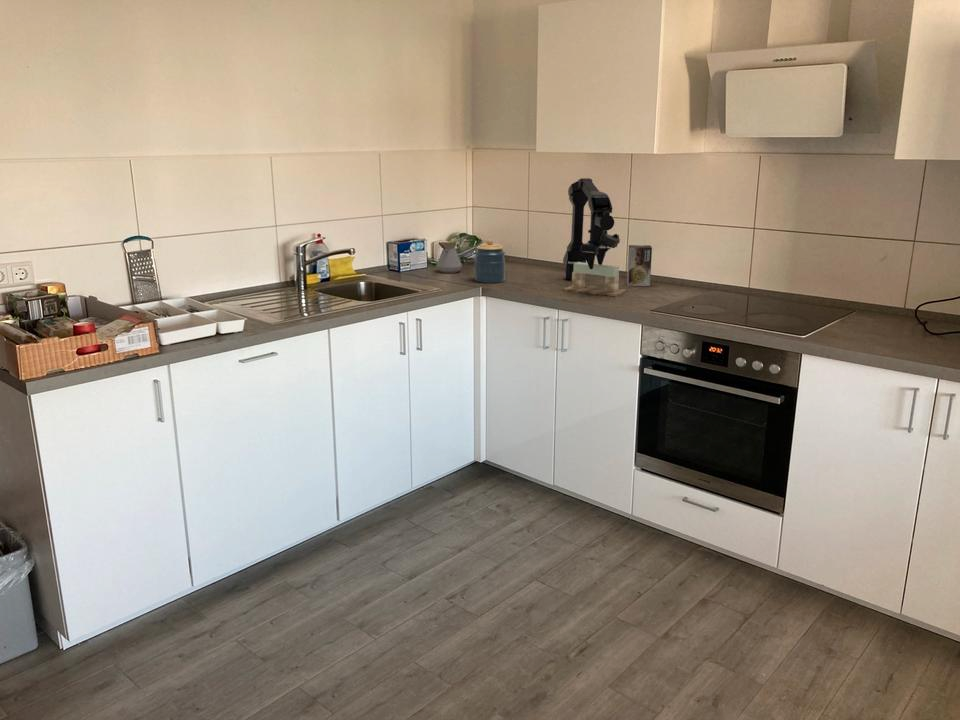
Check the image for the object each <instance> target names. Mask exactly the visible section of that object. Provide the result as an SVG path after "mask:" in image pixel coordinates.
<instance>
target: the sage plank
mask: <svg viewBox="0 0 960 720" xmlns="http://www.w3.org/2000/svg"><path fill="white" fill-rule="evenodd" d="M573 272H577V273H585V275H592V276H593V275H594V276H600V277H601V276H602V277H606V276H608V277H616V276H619V277H620V275H619V274H620V266H615V265H614V266H613V265H608V264H607V265H605V264H602V265H599V264H598V263H594V266H593V269H590V268H589V266H588V263H587V262H586V263H582V262H577V263H574V269H573Z"/></svg>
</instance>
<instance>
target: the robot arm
mask: <svg viewBox="0 0 960 720" xmlns="http://www.w3.org/2000/svg"><path fill="white" fill-rule="evenodd" d="M567 194H568V195H567V196H568V200H569V201H570V203H571V205H572V214H571V215H572V216H571V236H570V237H571V238H570V242H569V244H568V245H567V246H566V251H565V253H564V256H563V259H562V263H563V265H564V266H565V277H563V280H569V281H572V273H573V269H574V263H577V262H582V263H588V266H589V268H590V269H593V266H594V264H595V260H597V264H599V265H603V262H604V260H605V256H606V253H608V252H609V251H610V250H611V249H614V248H618V245H619V244H620V242H621V241H620V240H621V239H620V235H619V234H617V233H615V234H613V235H612V234H608V231H609V230H611V229H613V227H614V226H615V219H614V218H613V216H612V215H611V214H613V209H614V208H613V205H612V202H611V200H610V199H611V198H610V197H609V195H608V194H607V193H606V192H603V191H600V190H599V189H598V188H597V186H596V185H595V184H594V182H593V179H592V178H588V177H587V178H586V177H585V178H579V179H578V180H576V181H575V182H573V183H571V184H570V185H569V187H568V191H567ZM586 205H588V208H589V210H590V226H589V227H590V229H588V230H587V232H588V234H589V240H587V242H584V243H583V235H584V233H583V232H584V218H585V217H584V216H585V214H584V213H585V206H586Z"/></svg>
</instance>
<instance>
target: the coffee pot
mask: <svg viewBox="0 0 960 720" xmlns="http://www.w3.org/2000/svg"><path fill="white" fill-rule="evenodd" d="M437 245H439V247H440V248H441V249H442V250H441V252H440V253H441V254H440V256H439V258H438V260H437V263H436V268H437V270H438V271H439V272H440V273H443V274H454V273H455V274H456V273H458V272H459V271H460V270H461V269H462V266H463V264H462V262H461V260H460V257H459V255H458V253H457V250H456V245H457V242H438V243H437Z"/></svg>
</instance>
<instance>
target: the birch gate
mask: <svg viewBox="0 0 960 720" xmlns="http://www.w3.org/2000/svg"><path fill="white" fill-rule="evenodd" d="M604 280H605V284H604V286H596V285H587V284H586V274H585V273H577V272H573V273H572V280H571V285H569V286H566V287H564V288H563V290H565V291H564V292H568V291H574V292H573V293H577V292H582V293H581V294H586V293H591V294H590V295H596V294H599V295H598V296H605V295H607V296H606V297H614V296H617V297H618V296H621V295H622V294H624V293H627V289H623V288H619V284H620V283H619V281H620V275H619V276H616V277H608V276H605V279H604Z"/></svg>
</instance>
